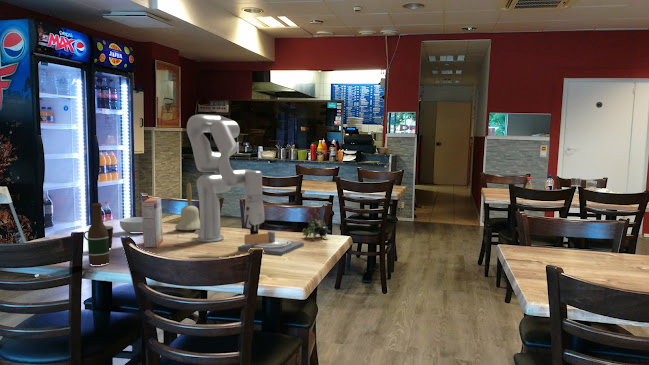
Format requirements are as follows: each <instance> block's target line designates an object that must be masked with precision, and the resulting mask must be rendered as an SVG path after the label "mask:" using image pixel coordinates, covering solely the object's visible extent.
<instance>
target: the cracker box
mask: <svg viewBox="0 0 649 365" xmlns="http://www.w3.org/2000/svg"><path fill="white" fill-rule="evenodd" d="M162 210H163V209H162V198H161V197H149V198H148V199H146V200H144V201H142V202H141V216H142V219H143V233H142V236H143V238H142V239H143V248H144V247H152V248H157V247H159V245H160V244H161V243H162V242H163V241H164V236H163V230H164V229H163V213H162Z"/></svg>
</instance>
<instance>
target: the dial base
mask: <svg viewBox="0 0 649 365" xmlns="http://www.w3.org/2000/svg"><path fill="white" fill-rule="evenodd" d="M283 240H286V241H287V244H285V245H283V246H271V247H267V246H258V245H256V244H245V243H244V244H243V245H239V246H237V251H239V252H240V251H242V252H249V251H248V250H249V249H250V248H263V250H264V252H265V253H264V254H266V253H270V254H269V255H275V254H278V255H277V256H283V254H284V255H285V253H286V254H288V253H291V252H292V251H294V250H295V251H296V250H298V249H299V248H302V247H304V244H305V243H304V242H303V241H302V242H300V241H293V240H289V239H283ZM287 252H288V253H287Z"/></svg>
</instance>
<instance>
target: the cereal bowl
mask: <svg viewBox="0 0 649 365" xmlns="http://www.w3.org/2000/svg"><path fill="white" fill-rule="evenodd" d="M119 226H120V229H122V230H123V231H125V232H127V233H129V232H143V219H142V217H141V216H140V217H139V216H137V217H135V216H133V217H126V218H124V217H123V218H121V219H120V220H119Z"/></svg>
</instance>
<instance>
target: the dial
mask: <svg viewBox="0 0 649 365" xmlns="http://www.w3.org/2000/svg"><path fill="white" fill-rule="evenodd" d="M286 240H287V239H285V240H283V239H282V238H276V232H275V231H272V230H271V231H267V232H263V233H262V232H261V233H258V234H244V240H243V241H244V245H245V244H256V245H258V246H267V247H271V246H283V245H285V244H287V241H286Z"/></svg>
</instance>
